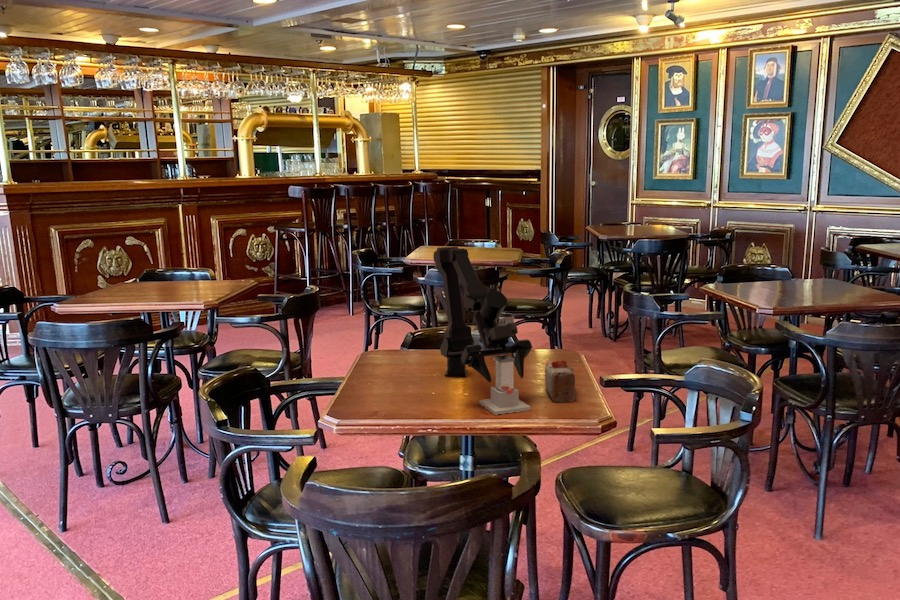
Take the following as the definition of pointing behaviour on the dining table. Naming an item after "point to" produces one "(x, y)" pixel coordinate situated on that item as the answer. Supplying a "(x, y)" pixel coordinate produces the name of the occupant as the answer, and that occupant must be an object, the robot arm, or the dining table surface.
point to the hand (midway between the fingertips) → (506, 379)
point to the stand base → (504, 402)
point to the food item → (560, 381)
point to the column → (504, 372)
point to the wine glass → (505, 321)
